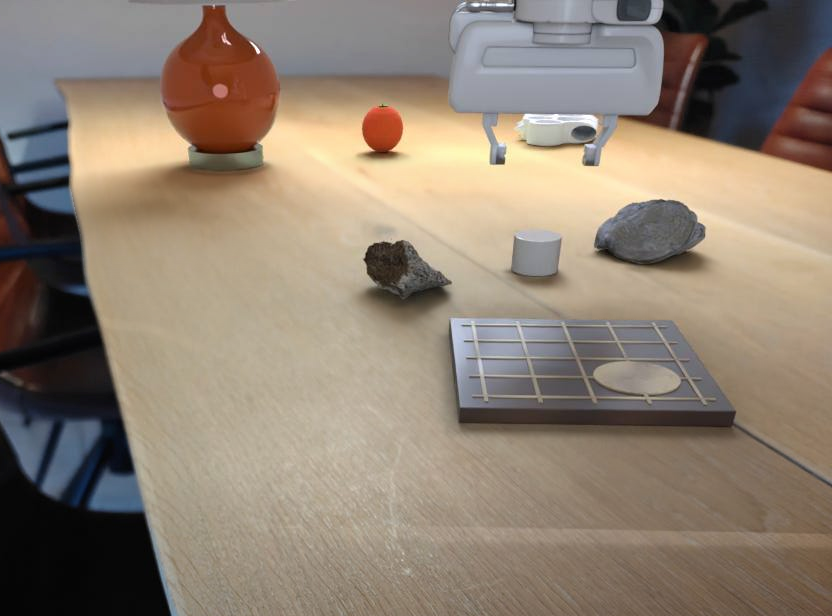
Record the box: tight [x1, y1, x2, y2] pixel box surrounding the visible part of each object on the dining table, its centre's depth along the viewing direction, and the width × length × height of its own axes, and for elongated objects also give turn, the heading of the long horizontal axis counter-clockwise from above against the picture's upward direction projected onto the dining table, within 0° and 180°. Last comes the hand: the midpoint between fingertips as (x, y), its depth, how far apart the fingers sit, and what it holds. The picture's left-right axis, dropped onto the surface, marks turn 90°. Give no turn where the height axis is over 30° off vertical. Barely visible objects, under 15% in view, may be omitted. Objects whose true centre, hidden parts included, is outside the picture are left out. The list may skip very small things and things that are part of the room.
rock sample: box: [362, 235, 453, 300], centre depth 91 cm, size 10×8×9 cm
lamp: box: [127, 0, 296, 171], centre depth 135 cm, size 25×25×39 cm
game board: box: [448, 317, 737, 427], centre depth 74 cm, size 20×20×1 cm
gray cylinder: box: [510, 229, 563, 277], centre depth 97 cm, size 5×5×4 cm
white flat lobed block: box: [513, 114, 599, 147], centre depth 163 cm, size 3×18×15 cm
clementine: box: [361, 103, 404, 153], centre depth 152 cm, size 8×7×7 cm
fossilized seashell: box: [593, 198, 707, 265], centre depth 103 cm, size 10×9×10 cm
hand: (543, 164), depth 92 cm, fingers open, 8 cm apart
